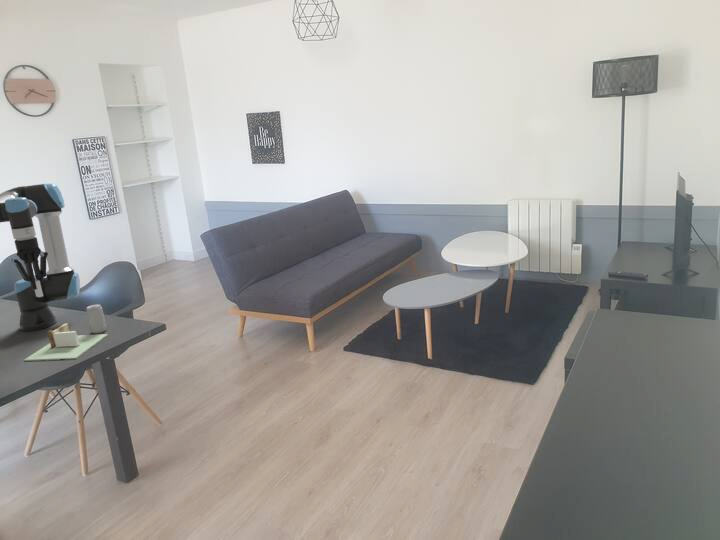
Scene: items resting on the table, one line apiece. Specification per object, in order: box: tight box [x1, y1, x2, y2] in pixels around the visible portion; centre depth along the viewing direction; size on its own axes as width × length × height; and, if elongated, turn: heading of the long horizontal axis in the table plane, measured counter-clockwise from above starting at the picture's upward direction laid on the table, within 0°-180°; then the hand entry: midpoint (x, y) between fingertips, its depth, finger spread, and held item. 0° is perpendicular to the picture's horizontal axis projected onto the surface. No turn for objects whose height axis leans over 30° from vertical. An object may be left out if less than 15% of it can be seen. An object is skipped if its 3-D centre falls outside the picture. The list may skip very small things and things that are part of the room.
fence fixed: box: [47, 322, 70, 348], centre depth 235 cm, size 12×2×8 cm, turn 175°
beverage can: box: [85, 303, 107, 335], centre depth 245 cm, size 6×6×12 cm
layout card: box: [23, 333, 109, 362], centre depth 231 cm, size 24×22×1 cm
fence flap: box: [53, 330, 80, 346], centre depth 230 cm, size 9×2×6 cm, turn 90°
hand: (39, 296), depth 220 cm, fingers closed
